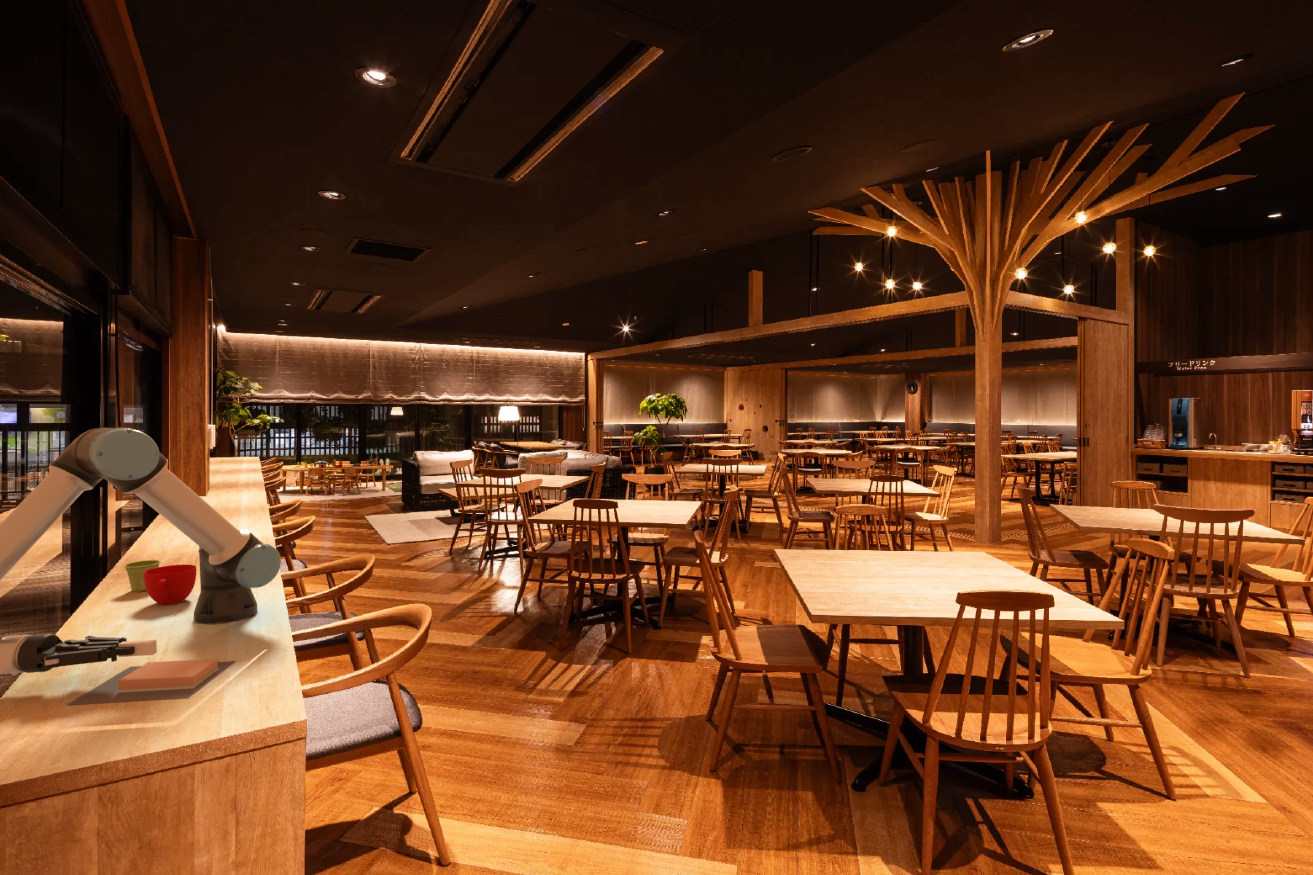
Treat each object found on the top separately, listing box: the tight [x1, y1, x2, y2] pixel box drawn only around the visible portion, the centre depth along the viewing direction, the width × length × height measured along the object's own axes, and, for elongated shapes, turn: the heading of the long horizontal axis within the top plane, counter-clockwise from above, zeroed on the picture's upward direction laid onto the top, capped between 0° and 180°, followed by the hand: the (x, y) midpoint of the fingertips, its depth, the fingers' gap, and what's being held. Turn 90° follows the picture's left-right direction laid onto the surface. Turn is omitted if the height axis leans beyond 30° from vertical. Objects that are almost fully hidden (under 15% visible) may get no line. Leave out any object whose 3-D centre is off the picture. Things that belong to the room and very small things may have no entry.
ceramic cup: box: [144, 564, 197, 606], centre depth 201 cm, size 13×17×10 cm
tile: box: [118, 658, 219, 693], centre depth 142 cm, size 2×10×14 cm
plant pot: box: [123, 559, 161, 593], centre depth 217 cm, size 9×9×9 cm
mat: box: [65, 660, 237, 707], centre depth 142 cm, size 22×20×1 cm
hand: (154, 647), depth 141 cm, fingers closed
